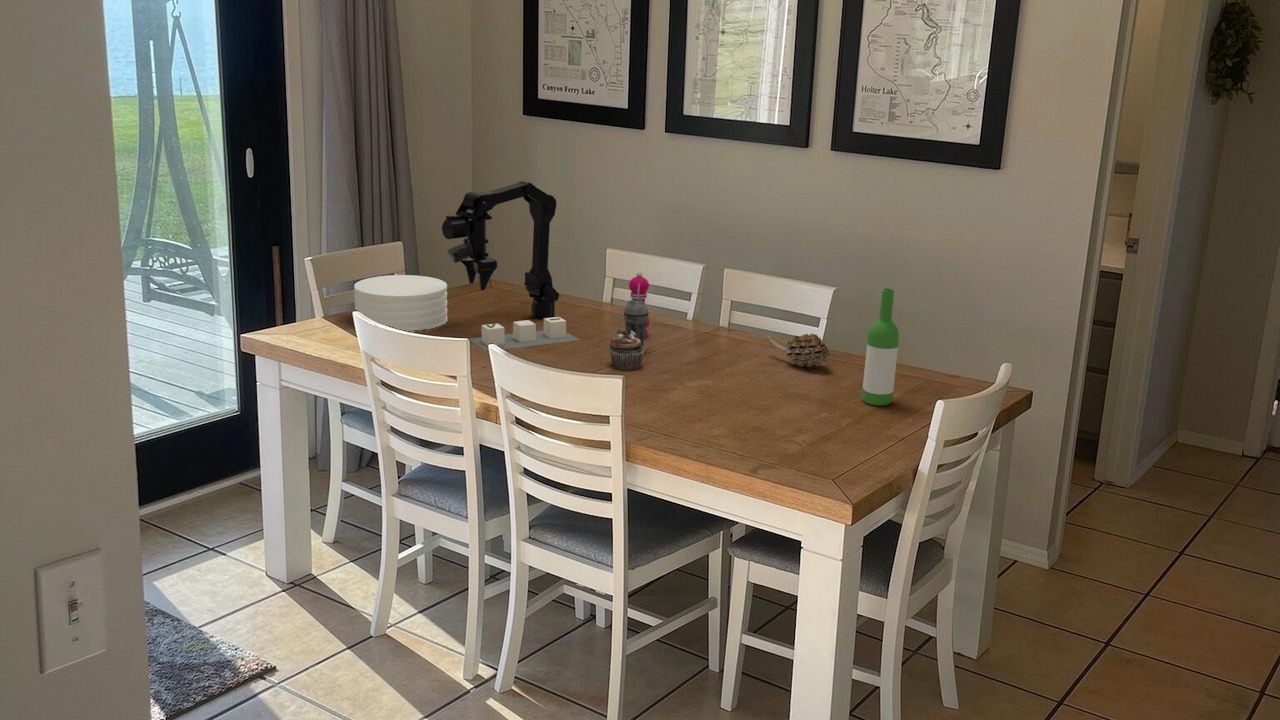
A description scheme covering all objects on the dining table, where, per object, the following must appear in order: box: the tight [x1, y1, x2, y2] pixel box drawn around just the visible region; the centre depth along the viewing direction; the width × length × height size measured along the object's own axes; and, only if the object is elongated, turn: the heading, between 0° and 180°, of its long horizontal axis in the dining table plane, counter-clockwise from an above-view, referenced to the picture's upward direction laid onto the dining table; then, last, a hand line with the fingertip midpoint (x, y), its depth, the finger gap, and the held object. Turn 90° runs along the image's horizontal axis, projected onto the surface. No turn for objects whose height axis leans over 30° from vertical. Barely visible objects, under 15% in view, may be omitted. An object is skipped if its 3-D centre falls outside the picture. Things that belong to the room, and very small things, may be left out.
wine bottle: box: [861, 287, 900, 407], centre depth 296 cm, size 8×8×30 cm
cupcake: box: [609, 329, 645, 370], centre depth 321 cm, size 10×10×10 cm
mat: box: [469, 329, 580, 352], centre depth 341 cm, size 30×14×1 cm, turn 121°
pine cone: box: [766, 333, 831, 368], centre depth 329 cm, size 22×10×10 cm, turn 50°
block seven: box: [481, 323, 506, 345], centre depth 336 cm, size 5×5×5 cm
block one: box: [543, 316, 567, 339], centre depth 346 cm, size 5×5×5 cm
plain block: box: [512, 319, 537, 342], centre depth 341 cm, size 5×5×5 cm
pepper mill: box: [628, 271, 650, 339], centre depth 349 cm, size 7×7×20 cm
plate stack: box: [353, 274, 448, 333], centre depth 357 cm, size 28×28×12 cm
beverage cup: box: [623, 284, 650, 348], centre depth 333 cm, size 7×7×20 cm
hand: (476, 286), depth 347 cm, fingers open, 9 cm apart
